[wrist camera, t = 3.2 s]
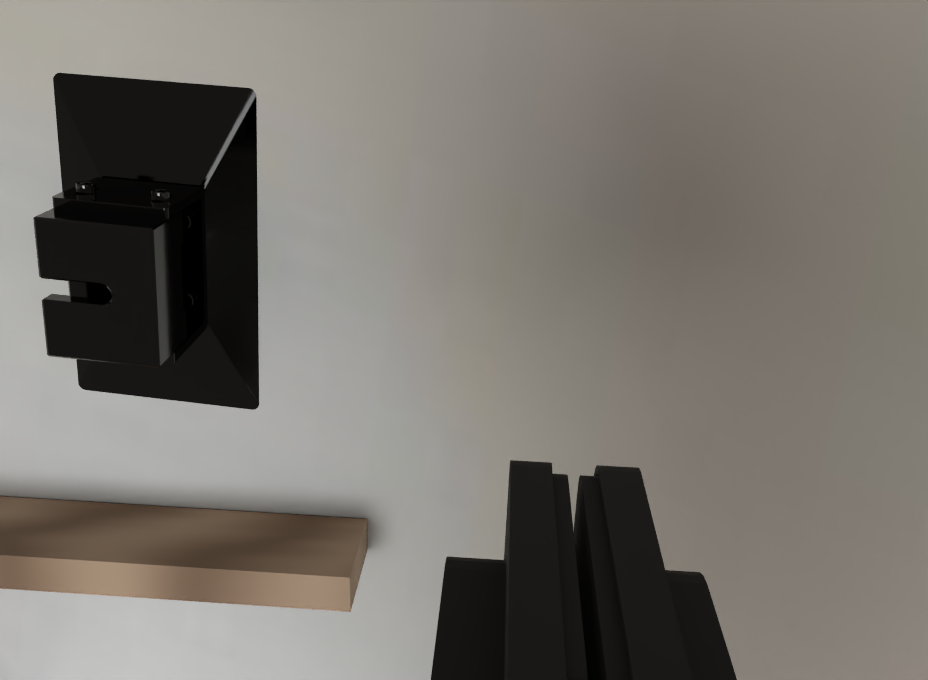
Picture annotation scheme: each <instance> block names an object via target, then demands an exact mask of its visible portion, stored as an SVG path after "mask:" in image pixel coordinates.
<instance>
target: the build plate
mask: <svg viewBox="0 0 928 680" xmlns="http://www.w3.org/2000/svg"><path fill="white" fill-rule="evenodd" d="M53 82H54V94H55V106H56V118H57V130H58V142H59V154H60V166H61V178H62V190H63V192H62V193H59V194H57V195H55V196H53V197H52V198H53V209H51V210H49V211H46V212H44V213H42V214H40V215H38V216H36V217H34V228H35V238H36V248H37V258H38V268H39V276H40V277H41V278H45V279H55V280H65V281H68V284H69V295H70V296H67V295H57V294H51V295H49V296H48V297H46V298H44V299H43V300H42V307H43V317H44V327H45V337H46V347H47V355H48V356H52V357H62V358H71V359H77V370H78V382H79V386H80V387H81V388H82V389H84V390H91V391H100V392H108V393H117V394H125V395H134V396H143V397H151V398H160V399H168V400H177V401H185V402H194V403H202V404H211V405H219V406H228V407H236V408H245V409H256V408H257V407H258V406H259V355H258V239H257V124H256V94H255V92H254V91H253V90H252V89H250V88H240V87H228V86H215V85H203V84H190V83H178V82H166V81H153V80H141V79H128V78H116V77H103V76H91V75H79V74H66V73H57V74H56V75H55V76H54V78H53Z"/></svg>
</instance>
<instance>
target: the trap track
mask: <svg viewBox="0 0 928 680" xmlns="http://www.w3.org/2000/svg"><path fill="white" fill-rule="evenodd" d="M366 553H367V519H358V518H342V517H326V516H310V515H294V514H277V513H261V512H245V511H229V510H213V509H197V508H181V507H164V506H148V505H132V504H116V503H100V502H84V501H68V500H51V499H35V498H19V497H3V496H0V588H3V589H18V590H33V591H48V592H63V593H78V594H93V595H108V596H123V597H138V598H153V599H169V600H184V601H199V602H214V603H229V604H244V605H259V606H274V607H289V608H304V609H319V610H334V611H349V612H350V611H351V608H352V604H353V600H354V597H355V593H356V589H357V586H358V582H359V578H360V575H361V571H362V567H363V564H364V560H365V556H366Z"/></svg>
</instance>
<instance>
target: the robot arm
mask: <svg viewBox="0 0 928 680" xmlns="http://www.w3.org/2000/svg"><path fill="white" fill-rule="evenodd" d="M431 680H737V679H736V675H735V672H734V669H733V666H732V663H731V659H730V656H729V653H728V650H727V647H726V643H725V640H724V637H723V634H722V630H721V627H720V624H719V621H718V618H717V614H716V611H715V608H714V605H713V601H712V598H711V595H710V592H709V589H708V585H707V583H706V580H705V578H704V576H703V575H702V574H701V573H700V572H685V571H669V570H665V568H664V564H663V560H662V556H661V552H660V548H659V544H658V539H657V535H656V531H655V527H654V523H653V519H652V515H651V511H650V507H649V503H648V499H647V495H646V491H645V487H644V483H643V479H642V475H641V471H640V469H639V468H633V467H616V466H599V465H597V466H596V469H595V473H594V476H581V475H580V477H579V483H578V492H577V503H576V513H575V523H574V533H573V523H572V513H571V503H570V493H569V483H568V475H564V474H553V473H552V463H547V462H529V461H512V460H510V471H509V487H508V504H507V520H506V536H505V553H504V560H492V559H476V558H460V557H447V558H446V563H445V570H444V578H443V586H442V594H441V603H440V611H439V619H438V627H437V635H436V643H435V651H434V659H433V667H432V675H431Z"/></svg>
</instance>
